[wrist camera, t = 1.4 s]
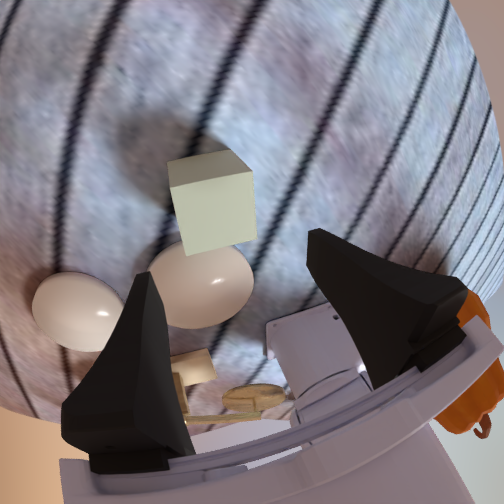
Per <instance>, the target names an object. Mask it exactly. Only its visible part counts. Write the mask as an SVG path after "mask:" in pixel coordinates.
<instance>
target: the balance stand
mask: <svg viewBox="0 0 504 504" xmlns="http://www.w3.org/2000/svg"><path fill="white" fill-rule="evenodd" d="M170 359H171V368H172V375H173V379H174V384H175V388H176V392H177V396H178V400H179V403H180V407H181V411H182V414H184V415H185V416H189V415H190V410H189V406H188V402H187V397H186V393H185V388H184V386H188V385H192V384H196V383H201V382H205V381H209V380H213V379H217V378H218V377H217V374H216V371H215V368H214V365H213V363H212V360H211V357H210V354H209V351H208V349H207V348H205V349H201V350H197V351H193V352H189V353H185V354H181V355H176V356H172V357H170Z"/></svg>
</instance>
